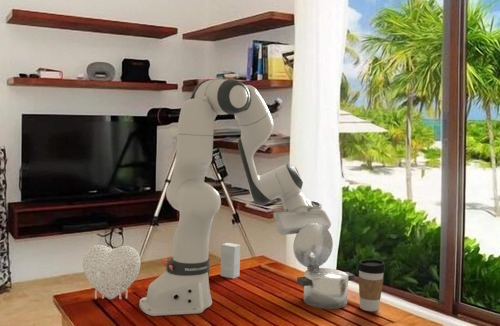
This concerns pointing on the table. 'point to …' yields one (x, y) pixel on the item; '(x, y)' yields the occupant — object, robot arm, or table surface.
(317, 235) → the lid
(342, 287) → the cooker pot
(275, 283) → the table surface
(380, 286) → the coffee cup
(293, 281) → the table surface
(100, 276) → the decorative heart
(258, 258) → the table surface
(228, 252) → the skincare box
